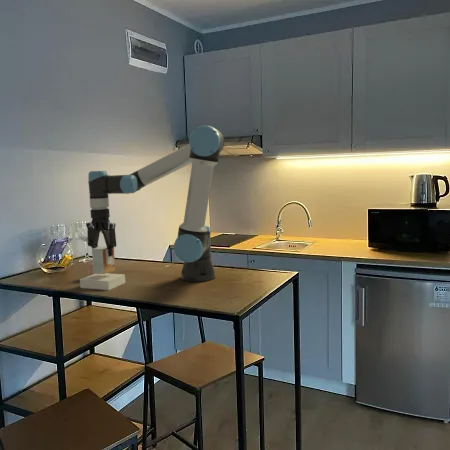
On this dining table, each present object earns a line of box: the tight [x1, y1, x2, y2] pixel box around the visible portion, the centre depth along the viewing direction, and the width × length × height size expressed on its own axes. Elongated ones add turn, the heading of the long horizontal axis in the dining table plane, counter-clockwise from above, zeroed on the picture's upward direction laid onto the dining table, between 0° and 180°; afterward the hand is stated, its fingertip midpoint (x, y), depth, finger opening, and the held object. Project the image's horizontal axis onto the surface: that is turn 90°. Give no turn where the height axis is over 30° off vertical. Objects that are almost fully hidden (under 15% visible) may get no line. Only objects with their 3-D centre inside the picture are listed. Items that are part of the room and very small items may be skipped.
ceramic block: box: [79, 272, 126, 291], centre depth 192 cm, size 14×12×4 cm
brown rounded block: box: [87, 261, 93, 276], centre depth 203 cm, size 7×7×7 cm
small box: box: [91, 245, 116, 274], centre depth 191 cm, size 8×6×10 cm
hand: (103, 263), depth 191 cm, fingers closed on small box, 6 cm apart
